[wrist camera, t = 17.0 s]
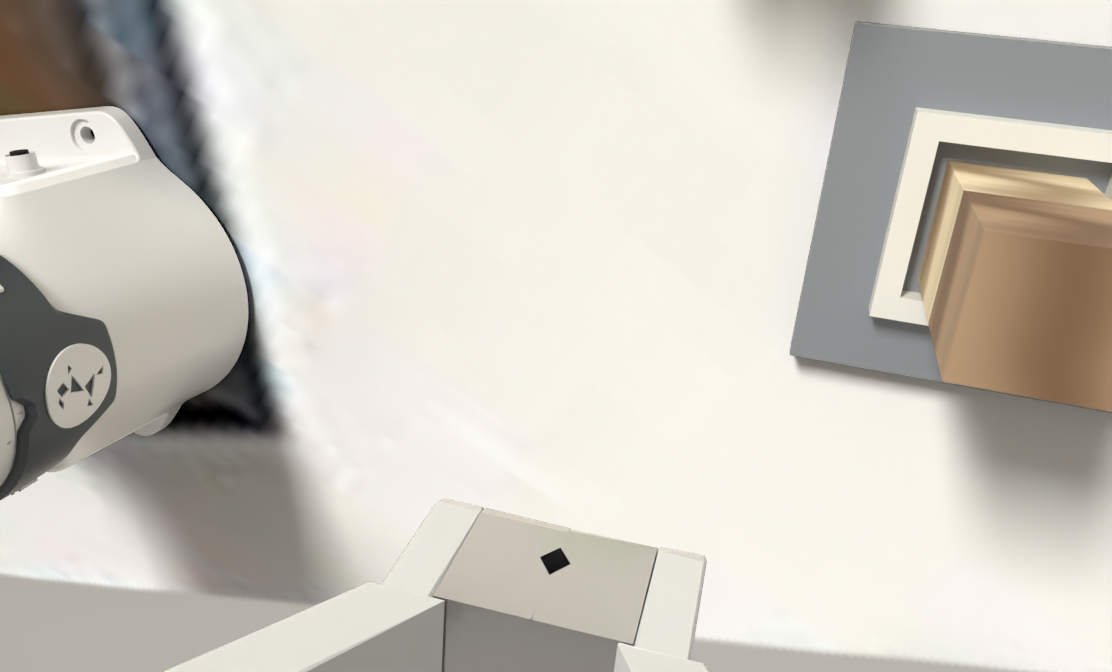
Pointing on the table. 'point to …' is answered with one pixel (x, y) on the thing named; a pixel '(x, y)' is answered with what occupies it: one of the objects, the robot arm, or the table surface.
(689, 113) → the table surface
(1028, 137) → the slate plate
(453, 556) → the robot arm
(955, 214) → the block stack
